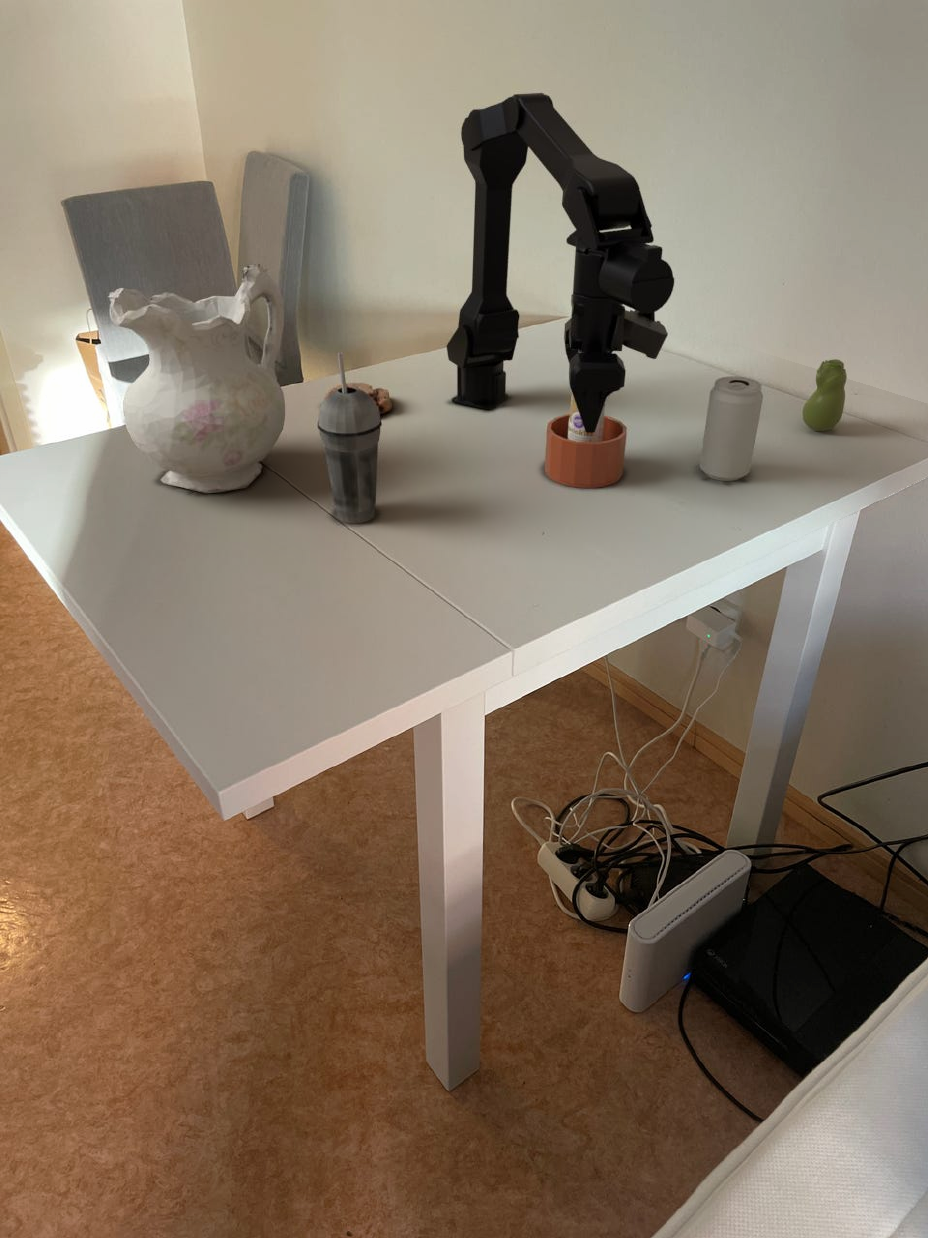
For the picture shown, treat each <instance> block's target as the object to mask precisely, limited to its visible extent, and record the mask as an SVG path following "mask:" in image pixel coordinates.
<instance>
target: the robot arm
mask: <svg viewBox="0 0 928 1238" xmlns="http://www.w3.org/2000/svg"><path fill="white" fill-rule="evenodd" d="M460 135H461V142H462V147H463V161H464V163H465V165H466V166H467V168H468V170H469V172H470V174H471V176H472V178H473V180H474V213H473V243H472V244H473V245H472V271H471V272H472V277H471V292H470V293H469V295H468V297H467V298H466V300H465V302H464V303H463V305H462V306H461V308H460V310H459V315H458V316H459V317H458V324H457V328H456V330H455V332H453V334H452V336H451V337H450V339H449V341H448V342H447V344H446V352H447V353H446V354H447V359H448V361H449V362H451V363H453V364H454V365H456V388H457V389H456V395H455V396H453V397H452V398H451V402H452V403H454V404H458V405H463V406H467V407H471V408H472V407H473V408H477V409H482V410H485V411H486V410H487V411H488V410H491V409H492V408H493V407H496V406H497V405H498V404H500V403H502V401H504V400H506V399H507V398H509V394H508V393H506V392H507V391H506V390H507V389H506V387H507V373H506V371H505V370H504V362H506V361H508V362H509V361H513V358H514V354H515V350H516V346H517V342H518V339H519V338H520V335H519V333H520V332H519V323H520V317H521V316H520V312H519V310H517V309H516V308H514V306H513V304H512V302H511V300H510V299H509V297H508V292H507V291H508V275H509V274H508V273H509V255H510V237H511V236H510V235H511V220H512V202H513V201H512V199H513V187H514V184H515V182H516V180H517V178H518V177H519V175H520V173H521V172H522V170H523V168H524V167H525V165H526V163H527V158H528V151H529V149H530V151H531V152H532V153H533V154H534V156H535V157H536V159H538V161H540V163H541V164H542V165H543V167H544V168H545V169H546V170H547V171H548V173H549V174H550V175H551V176H552V177H553V179H554V180H555V181H556V182H557V184H558V185H559V187H560V189H561V191H562V198H561V206H562V208H563V210H564V211H565V213H566V215H567V217H568V219H569V220H570V222H571V224H572V226H573V227H574V229H575V230H574V231H573V232H571V234H569V235H568V237H567V238H566V244H567V245H570V246H572V247H575V250H574V251H575V253H574V266H573V268H574V269H573V284H572V285H573V286H572V293H571V298H570V305H571V316H570V318H569V319H568V320H567V321H566V322H565V323H564V329H563V330H564V332H563V334H564V335H563V342H564V350H565V355H566V357H567V362H568V364H569V365H568V383H569V388H570V390H571V394H572V393H573V396H574V399H575V402H576V405H577V408H578V411H579V414H580V417H581V420H582V423H583V426H584V429H585V432H586V433H594V432H595V430H596V427H597V424H598V421H599V418H600V415H601V412H602V409H603V407H604V404H605V405H606V401H607V398H608V397H609V396H610V395H612V394H613V393H614V392H619V391H620V390H621V389H622V388H624V387H625V381H626V373H627V372H626V367H625V363H624V361H623V359H621V357H620V356H619V355H618V354H617V353H615V352H623V347H626V348H627V349H630V350H633V351H636V352H638V353H640V354H643V355H645V356H646V358H649V359H653V360H656V359H657V358H658V355H659V354H660V352H661V350H662V348H663V346H664V344H665V342H666V340H667V338H668V335H669V334H668V331H667V328H666V326H665V325H664V324H662V323H661V321H660V320H656V314H655V313H656V312H658V311H659V310H661V309H662V308H663V307H664V306H665V305H666V304H667V302H669V300H670V298H671V296H672V293H673V291H674V287H675V277H674V273H673V270H672V267H671V265H670V264H669V262H668V261H666V260H664V259H662V258H663V250H664V249H663V247H662V246H660V245H656V244H653V243H654V239H655V237H654V234H653V231H652V227H653V224H652V222H651V220H650V217H649V215H648V213H647V210H646V206H645V203H644V199H643V196H642V192H641V189H640V185H639V183H638V181H637V180H636V178H635V176H634V175H633V174H631V173H630V172H629V171H627V170H626V169H624V168H623V167H621V166H620V165H619V164H617V163H614V162H611V161H609V160H607V159H603V158H600V157H599V156H598V155H596V154H594V152H593V151H592V150H591V149H590V148H589V147H588V146H587V144H586V143H585V142H584V141H583V140H582V139H581V137H580V136H579V134H577V133H576V132H575V129H573V128H572V126H570V125H569V123H568V122H567V121H566V120H565V118H564V117H563V116H562V115H561V114H560V113H559V112H558V110H557V109H556V108H555V107H554V103H553V100H552V98H551V96H550V95H548V94H545V93H543V92H531V93H530V92H529V93H514V94H513V95H512V96H509V97H507V98H506V99H504V100H503V101H501V102H498V103H496V104H493V105H490V106H487V107H485V108H476V109H472V110H471V111H469V114H468V116H467V117H465V118H464V120H463V122H462V126H461V130H460ZM628 227H630V228H628ZM618 229H619V230H618ZM651 244H652V245H651ZM626 307H628V308H630V310H627V309H626ZM632 309H633V310H632ZM613 352H614V353H613Z"/></svg>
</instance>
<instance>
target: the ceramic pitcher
mask: <svg viewBox="0 0 928 1238" xmlns="http://www.w3.org/2000/svg"><path fill="white" fill-rule="evenodd" d="M268 270H269V268H264V266H263V265H261V263H258V264H255V263H254V264H249V265H247V266H244V267H243V269H242V271H240V273H241V274H242V277H241V284H240V286H239V288H238V290H237V292H235V295H233V296H232V295H231V296H226V295H225V296H223V295H211V296H209V297H206V298H203V299H200V300H197V301H195V302H193V301H192V300H189V299H187V298H185V297H182V296H180V295H178V294H175V293H174V292H169V291H168V292H167V291H165V292H163V293H161V294H154V295H153V296H151V297H149V298H147V297H146V296H145V295H144V293H142V292H141V291H140V290H137V289H131V287H129V288H128V287H127V288H124V287H119V288H117V289H116V290H114V291H112V292H109V295H108V298H109V301H110V304H109V317H110V321H111V322H112V323H113V324H114V325H115V326H117V327H121V328H125V329H129V330H132V332H134V333H135V334H136V335H137V336H139V337H140V338H141V339H142V340H143V342H144V343H145V344H146V347H147V351H148V355H149V356H148V357H149V362H148V366H147V367H146V368H145V370H144V371H143V372H142V373H141V374H140V375H139V376H138V378H136V379H135V380H134V381H133V382H132V383H131V384H129V386H127V388H126V390H125V393H124V396H123V400H122V414H123V416H124V422H125V427H126V430H127V431H128V434H129V436H130V438H131V440H132V441H133V443H134V444H135V446H136V447H137V448H138V450H140V451H141V452H142V453H143V455H144V456H146V457H147V458H148V459H149V460H150V461H151V462H152V463H153V464H155V465H157V466H159V467H160V468H161V469H164V470H168V471H167V472H166V473H165V474H164V475H163V476H162V477H161V478H160V482H162V484H165V485H168V486H174V487H178V488H182V489H183V488H184V489H187V490H191V491H195V492H199V493H203V494H213V493H214V494H215V493H224V492H227V491H228V492H229V491H233V490H234V491H235V490H239V489H240V490H241V489H247V488H248V486H249V485H250V484H252V483H253V481H254V480H256V479H257V477H258V476H259V475H260V474H261V473H262V468H263V465H262V464H261V461H263V460H264V459H265V458H266V456H267V455H268V454H269V453H270V451H272V449H273V448H274V446H275V445H276V443H277V441H278V440H279V437H280V436H281V435H282V432H283V430H284V426H285V421H286V401H285V394H284V391H283V388H282V387H281V385H280V383H279V382H278V378H277V375H276V370H275V366H276V365H275V362H276V359H277V357H278V355H279V352H280V349H281V348H282V340H283V332H284V326H285V305H284V300H283V299H284V298H283V295H282V293H281V291H280V288H279V285H278V284H277V283H276V282H275V281H274V279H272V277H271V276H270V275H269V273H268V272H267V271H268ZM261 298H263V300H264V302H265V305H266V310H267V318H268V324H267V330H266V333H265V337H264V340H263V350H262V357H261V361H260V363H259V364H256V363H255V362H254V361H253V360H252V359H251V358H250V357H249V355H248V354H247V351H246V346H245V338H246V331H247V328H248V323H249V321H250V318H251V313H252V312H251V306H252V305H253V304H255V302H256V301H257V300H259V299H261Z"/></svg>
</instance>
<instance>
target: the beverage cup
mask: <svg viewBox="0 0 928 1238" xmlns="http://www.w3.org/2000/svg"><path fill="white" fill-rule="evenodd" d="M343 357H344V355H343V352H341V351H339V352H337V361H338V368H339V376H340V383H341V384H342V388H339V389H336V390H335V391H333V392H331V393H330V394H329V395H328V396H327V397H326V399H325V400H324V399H323V401H322V403H321V405H320V407H319V411H318V420H317V429H318V430H319V436H320V440H321V443H322V444H323V448H324V454H325V457H326V458H325V460H326V465H327V470H328V476H329V481H330V482H329V483H330V487H331V493H332V499H333V505H334V507H335V512H336V517H337V519H338V520H339V521H341V522H342V523H346V524H353V525H355V524H362V523H367V522H369V521H371V520H372V519H374V517H375V516H376V514H375V510H376V504H377V479H378V456H379V455H378V448H379V441H380V436H381V427H382V425H383V423H382V418H381V417H380V415H381V414H380V415H379V411H378V408H377V405H376V403H375V402H374V400H373V399H372V398H371V397H370V396H369V395H368V394H367V393H366V392H364V391H362V390H360V389H358V388H354V387H346V383H347V380H346V379H347V378H346V373H345V364H344V358H343ZM341 384H340V385H341Z"/></svg>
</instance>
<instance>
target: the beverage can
mask: <svg viewBox="0 0 928 1238" xmlns="http://www.w3.org/2000/svg"><path fill="white" fill-rule="evenodd" d="M762 385H763V384H762V383H760V382H759V381H757V380H755V379H753V378H749V377H746V376H735V375H734V376H730V375H729V376H722V377H719V378H717V379H716V380H714V386H713V387H712V388H711V389H710V392H709V398H708V404H707V411H706V419H705V425H704V432H703V439H702V444H701V451H700V457H699V458H700V459H699V468H700V469H701V471H702V472H704V474H705V475H706V476H707V477H708V478H711V479H714V480H716V481H721V482H734V481H738V480H740V479H741V478H743V477H745V476H747V475H748V474H749V472H751V468H752V467H751V466H752V461H753V457H754V456H753V455H754V450H755V444H756V438H757V433H758V429H759V422H760V417H761V412H762V411H761V409H762V407H763V406H762V405H763V401H764V394H763V392H762V387H763V386H762Z"/></svg>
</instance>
